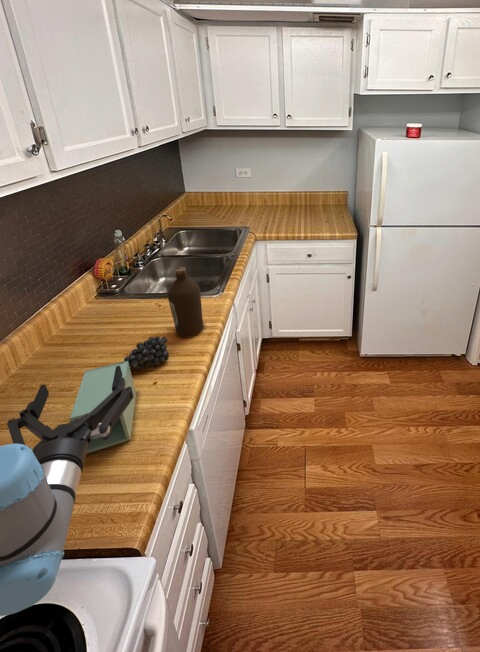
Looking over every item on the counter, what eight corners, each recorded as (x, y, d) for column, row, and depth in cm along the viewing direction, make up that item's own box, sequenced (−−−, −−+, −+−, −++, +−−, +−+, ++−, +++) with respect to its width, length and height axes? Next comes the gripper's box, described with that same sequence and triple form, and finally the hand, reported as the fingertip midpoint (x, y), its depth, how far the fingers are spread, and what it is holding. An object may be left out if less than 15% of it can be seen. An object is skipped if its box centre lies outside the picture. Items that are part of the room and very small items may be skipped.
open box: (130, 440, 82) (120, 404, 77) (82, 455, 78) (69, 418, 74) (136, 393, 95) (128, 360, 90) (95, 404, 91) (85, 370, 87)
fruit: (113, 354, 96) (168, 336, 103) (115, 345, 104) (166, 329, 111) (120, 381, 97) (174, 362, 104) (121, 370, 105) (172, 353, 112)
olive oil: (202, 317, 128) (194, 259, 119) (207, 333, 119) (199, 272, 110) (173, 325, 123) (162, 265, 114) (175, 342, 115) (164, 279, 105)
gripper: (-39, 525, 50) (16, 412, 68) (144, 461, 59) (150, 376, 77) (-60, 493, 47) (4, 384, 65) (136, 430, 56) (144, 350, 74)
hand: (83, 379), depth 71 cm, fingers open, 13 cm apart
